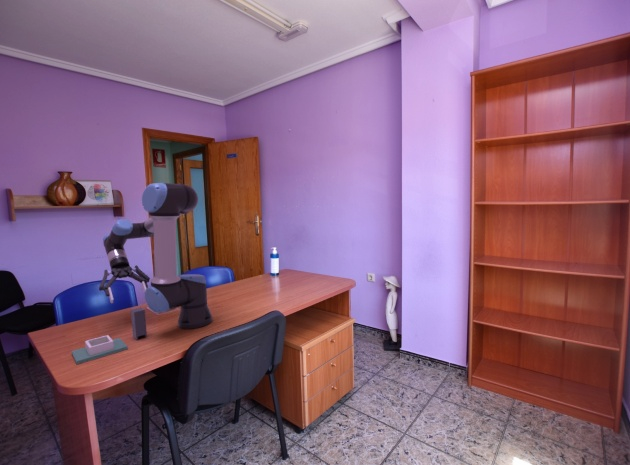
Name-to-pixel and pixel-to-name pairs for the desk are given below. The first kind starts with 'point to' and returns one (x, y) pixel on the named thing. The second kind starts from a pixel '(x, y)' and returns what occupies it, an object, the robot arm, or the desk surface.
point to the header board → (98, 349)
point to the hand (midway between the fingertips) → (129, 297)
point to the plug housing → (138, 322)
